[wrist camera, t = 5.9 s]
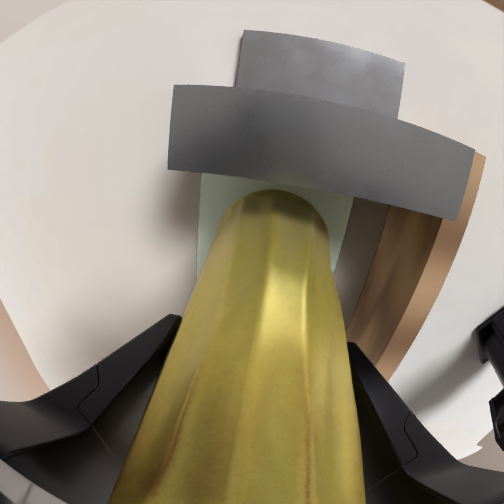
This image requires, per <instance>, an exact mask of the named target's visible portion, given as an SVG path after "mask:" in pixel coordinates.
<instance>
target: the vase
mask: <svg viewBox="0 0 504 504" xmlns="http://www.w3.org/2000/svg"><path fill="white" fill-rule="evenodd" d="M108 504H366V500H365V487H364V474H363V462H362V450H361V440H360V431H359V423H358V415H357V408H356V402H355V396H354V391H353V384H352V377H351V369H350V361H349V354H348V348H347V341H346V332H345V325H344V320H343V314H342V309H341V304H340V300H339V295H338V291H337V287H336V283H335V279H334V276H333V272H332V269H331V257H330V249H329V234H328V229H327V226H326V224H325V222H324V220H323V218H322V217H321V215H320V214H319V212H318V211H317V210H316V209H315V208H314V207H313V205H311V204H310V203H309V202H308V201H307V200H305V199H304V198H302V197H300V196H298V195H296V194H293V193H291V192H287V191H284V190H278V189H267V190H260V191H256V192H252V193H249V194H247V195H245V196H243V197H241V198H239V199H238V200H237V201H235V202H234V203H233V204H232V205H231V206H230V207H229V208H228V209H227V211H226V212H225V213H224V215H223V216H222V218H221V220H220V222H219V225H218V230H217V233H216V236H215V238H214V240H213V243H212V245H211V248H210V250H209V252H208V254H207V256H206V259H205V261H204V264H203V267H202V270H201V272H200V275H199V278H198V280H197V283H196V285H195V288H194V290H193V293H192V295H191V297H190V300H189V302H188V304H187V306H186V309H185V311H184V313H183V316H182V319H181V321H180V324H179V326H178V328H177V331H176V333H175V336H174V338H173V341H172V343H171V346H170V348H169V350H168V353H167V355H166V358H165V360H164V363H163V365H162V368H161V370H160V373H159V375H158V378H157V380H156V383H155V385H154V388H153V390H152V393H151V395H150V398H149V400H148V403H147V405H146V408H145V411H144V413H143V416H142V419H141V421H140V424H139V426H138V429H137V432H136V434H135V437H134V439H133V442H132V444H131V447H130V449H129V452H128V455H127V457H126V460H125V462H124V464H123V467H122V469H121V471H120V474H119V476H118V478H117V480H116V483H115V485H114V488H113V490H112V493H111V497H110V499H109V501H108Z"/></svg>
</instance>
